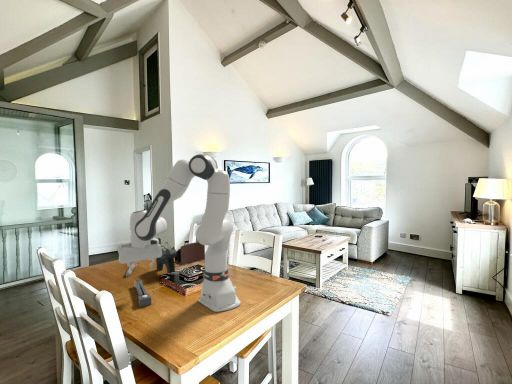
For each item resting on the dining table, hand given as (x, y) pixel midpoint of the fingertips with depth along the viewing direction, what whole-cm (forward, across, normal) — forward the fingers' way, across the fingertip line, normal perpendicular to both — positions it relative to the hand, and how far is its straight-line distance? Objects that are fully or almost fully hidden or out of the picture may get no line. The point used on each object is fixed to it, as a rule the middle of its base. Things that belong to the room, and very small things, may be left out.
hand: (141, 268), depth 134 cm
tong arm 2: (+13, 0, +3) cm, 14 cm away
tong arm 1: (+13, -2, +3) cm, 14 cm away
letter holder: (+14, +39, +45) cm, 61 cm away
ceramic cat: (+14, +17, +29) cm, 36 cm away
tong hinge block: (+14, -1, -11) cm, 18 cm away
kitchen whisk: (+13, +1, +48) cm, 50 cm away
